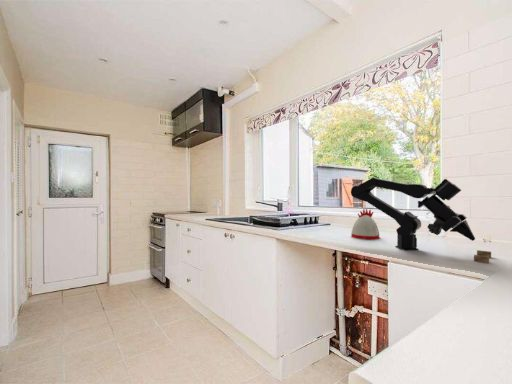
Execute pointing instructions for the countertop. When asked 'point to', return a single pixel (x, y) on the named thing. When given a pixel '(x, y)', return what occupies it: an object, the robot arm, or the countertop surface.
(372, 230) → the grey red beanie hat
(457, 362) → the countertop surface
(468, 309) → the countertop surface
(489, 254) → the wooden blocks
